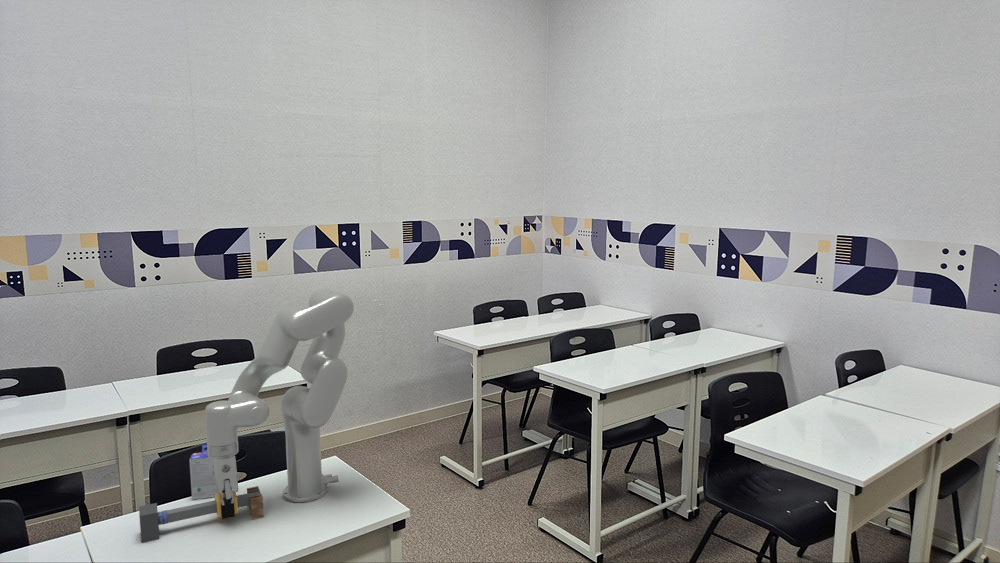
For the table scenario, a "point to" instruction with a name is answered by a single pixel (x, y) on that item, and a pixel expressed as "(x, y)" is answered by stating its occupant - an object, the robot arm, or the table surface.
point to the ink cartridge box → (202, 475)
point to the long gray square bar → (200, 509)
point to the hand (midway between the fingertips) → (226, 512)
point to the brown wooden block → (256, 504)
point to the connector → (149, 522)
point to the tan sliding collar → (219, 502)
